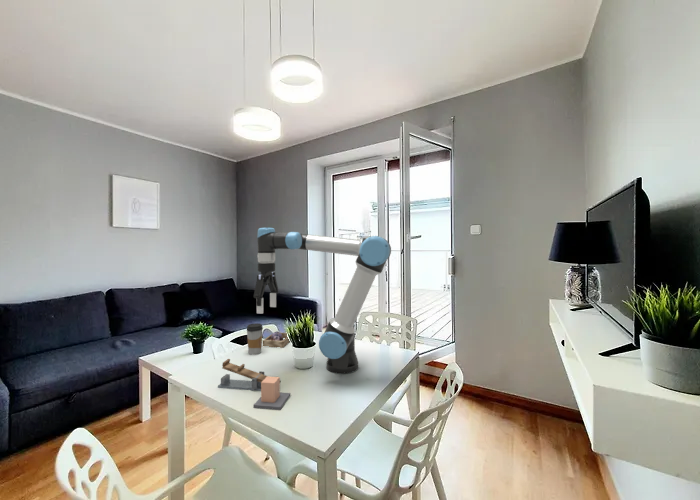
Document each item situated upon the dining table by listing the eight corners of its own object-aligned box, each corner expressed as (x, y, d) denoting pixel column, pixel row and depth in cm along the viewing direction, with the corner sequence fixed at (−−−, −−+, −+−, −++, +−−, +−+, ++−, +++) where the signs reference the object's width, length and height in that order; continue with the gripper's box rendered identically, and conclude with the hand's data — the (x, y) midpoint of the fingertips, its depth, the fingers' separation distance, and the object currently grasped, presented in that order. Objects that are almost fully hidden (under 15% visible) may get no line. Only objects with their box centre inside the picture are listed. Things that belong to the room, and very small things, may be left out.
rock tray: (293, 338, 182) (293, 333, 182) (283, 347, 166) (283, 341, 166) (274, 337, 184) (274, 332, 184) (262, 346, 168) (262, 340, 168)
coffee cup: (258, 356, 153) (257, 327, 153) (243, 355, 155) (243, 326, 155) (265, 350, 161) (265, 323, 161) (251, 349, 163) (251, 322, 163)
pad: (290, 395, 112) (290, 393, 112) (280, 410, 102) (280, 407, 102) (265, 393, 114) (265, 391, 114) (253, 407, 104) (253, 405, 104)
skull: (280, 347, 168) (280, 336, 168) (267, 347, 167) (267, 336, 167) (284, 340, 180) (284, 330, 180) (271, 340, 179) (271, 330, 179)
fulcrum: (275, 383, 122) (275, 372, 122) (268, 392, 115) (268, 379, 115) (226, 380, 126) (226, 369, 125) (217, 388, 119) (216, 376, 119)
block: (279, 395, 110) (279, 377, 110) (274, 402, 105) (274, 383, 105) (267, 394, 111) (267, 376, 111) (261, 401, 106) (261, 382, 106)
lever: (280, 382, 121) (282, 376, 121) (275, 388, 116) (277, 382, 116) (227, 363, 124) (229, 358, 124) (220, 369, 119) (222, 362, 119)
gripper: (270, 261, 144) (270, 304, 144) (244, 264, 119) (245, 316, 120) (284, 261, 143) (285, 304, 143) (261, 264, 118) (262, 316, 119)
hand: (266, 310), depth 131 cm, fingers open, 13 cm apart
